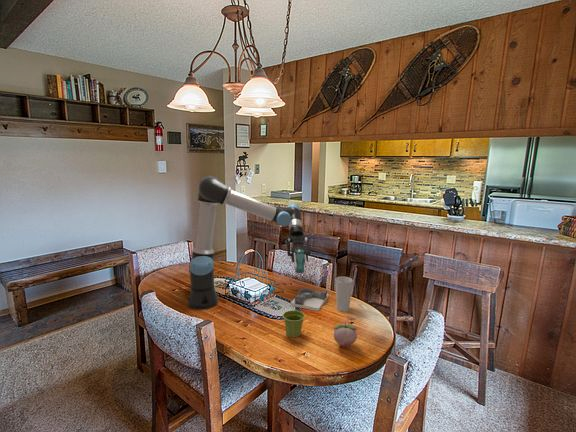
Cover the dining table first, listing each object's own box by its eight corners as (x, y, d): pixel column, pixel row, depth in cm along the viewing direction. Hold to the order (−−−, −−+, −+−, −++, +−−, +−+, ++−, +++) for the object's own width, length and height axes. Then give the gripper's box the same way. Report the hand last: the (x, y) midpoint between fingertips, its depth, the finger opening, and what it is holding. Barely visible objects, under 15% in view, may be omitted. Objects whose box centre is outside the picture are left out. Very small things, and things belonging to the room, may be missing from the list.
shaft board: (318, 311, 158) (318, 301, 157) (290, 305, 164) (290, 295, 163) (328, 296, 175) (328, 287, 174) (302, 292, 180) (302, 283, 179)
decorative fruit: (353, 339, 134) (354, 317, 132) (358, 351, 126) (359, 327, 124) (331, 340, 133) (331, 317, 131) (334, 351, 125) (335, 328, 123)
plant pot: (291, 326, 144) (291, 308, 143) (308, 333, 138) (309, 314, 137) (278, 334, 137) (278, 315, 136) (295, 342, 131) (295, 323, 130)
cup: (351, 313, 156) (352, 283, 153) (333, 312, 157) (334, 282, 154) (351, 306, 164) (352, 277, 161) (334, 304, 165) (335, 275, 163)
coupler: (305, 273, 168) (305, 250, 166) (295, 273, 168) (295, 251, 165) (303, 269, 173) (303, 248, 171) (294, 270, 173) (294, 248, 170)
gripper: (310, 231, 183) (316, 269, 170) (279, 233, 181) (283, 271, 168) (312, 224, 177) (319, 263, 164) (280, 226, 175) (284, 265, 162)
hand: (301, 267), depth 166 cm, fingers closed on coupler, 5 cm apart
